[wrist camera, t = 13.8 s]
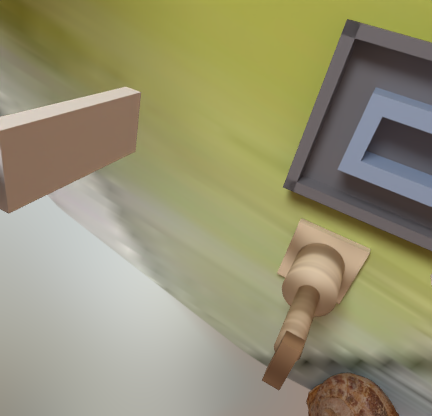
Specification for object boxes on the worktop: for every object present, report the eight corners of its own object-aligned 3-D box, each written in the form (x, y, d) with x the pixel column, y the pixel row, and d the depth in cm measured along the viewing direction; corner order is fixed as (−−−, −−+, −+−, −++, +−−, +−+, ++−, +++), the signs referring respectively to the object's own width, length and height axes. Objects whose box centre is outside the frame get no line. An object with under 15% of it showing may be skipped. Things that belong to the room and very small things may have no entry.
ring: (343, 158, 31) (337, 169, 29) (385, 66, 27) (383, 69, 25) (459, 203, 29) (464, 219, 26) (524, 109, 25) (538, 118, 22)
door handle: (301, 218, 36) (251, 305, 25) (370, 248, 34) (351, 358, 23) (279, 269, 40) (226, 366, 28) (340, 299, 38) (311, 416, 26)
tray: (351, 20, 28) (347, 19, 26) (609, 92, 23) (628, 98, 21) (290, 178, 35) (282, 187, 33) (476, 256, 30) (481, 272, 28)
